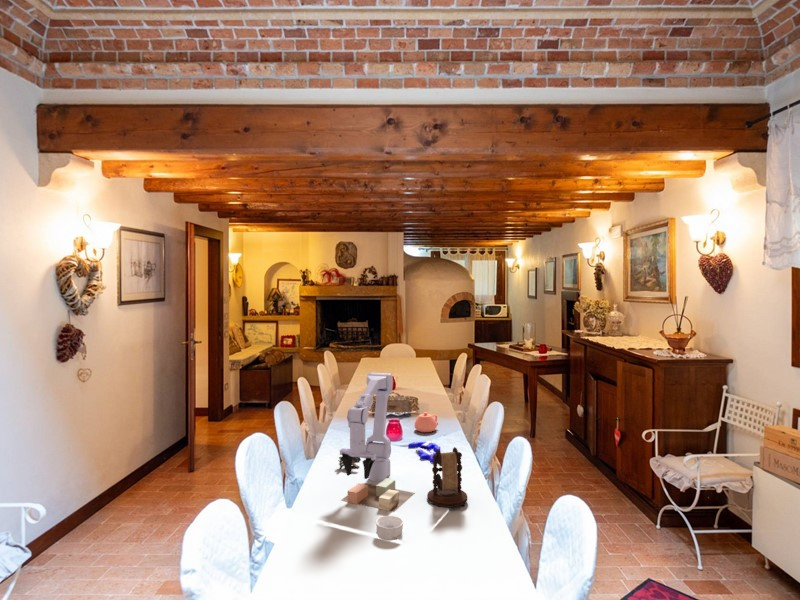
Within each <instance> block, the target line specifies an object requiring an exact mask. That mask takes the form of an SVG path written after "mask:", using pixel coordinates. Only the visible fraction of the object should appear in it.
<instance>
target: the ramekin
mask: <svg viewBox="0 0 800 600" xmlns="http://www.w3.org/2000/svg"><path fill="white" fill-rule="evenodd" d="M375 525H376V535H377V537H378V538H379V539H381V540H385V541H395V540H398V538H397V537H399V536H401V535H402V533H403V527H404V526H403V525H404V520H403V519H402V518H401V517H399V516H396V515H383V516H380V517H378V518H377V519H376V520H375Z"/></svg>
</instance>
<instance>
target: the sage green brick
mask: <svg viewBox="0 0 800 600" xmlns="http://www.w3.org/2000/svg"><path fill="white" fill-rule="evenodd" d="M375 485H376V496H378V497H380V496H381V495H383V494H384V493H385V492H386V491H388V490H389V489H390V490H395V489H396V479H392V478H388V477H387V478H386V479H384V480H383V481H379V483H377V484H375Z"/></svg>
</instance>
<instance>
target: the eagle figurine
mask: <svg viewBox="0 0 800 600" xmlns="http://www.w3.org/2000/svg"><path fill="white" fill-rule="evenodd" d="M341 457H342V456H339V457H338V460H337V461H338V462H339V463H338V465H339V470H342V469H343V467H344V464H343V462H342V461H341ZM361 459H362V458H360V457H353V458H352V466H354V467H356V468H359V467H360V466H359V465H357V464H359V463H360V462H361V461H362V460H361Z"/></svg>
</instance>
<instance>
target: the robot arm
mask: <svg viewBox="0 0 800 600" xmlns="http://www.w3.org/2000/svg"><path fill="white" fill-rule="evenodd" d="M393 385H394V378H393V375H392V374H391V373H390V372H389V373H388V372H387V373H386V372H384V373H383V372H372V371H371V372H368V374H367V376H366V388H365V391H364V393H362V394H360V395H359V396H358V399H357V401H356V402H355V404H354V405H353V407H350V408H348V411H347V416H346V420H347V424H348V428H349V448H340V449H339V455H340V457H341V462H343V464H344V466H343V467H344V469H345V472H346V476H350V475H352V471H353V470H352V466H353V465H352V458H353V457H360V459H363V460H362V465H363V470H364V471H363V476H364V477H363V478H364V480H367V479H369V480H370V481H371V482H372V481H373V482H382V481H383V480H384V479H386V478H388V477H390V476H391V460H390V458H391V453H392V447H391V442H392V441H391V440H390V438H389V437H388V436H387V435H386V434H385V433H386V423H387V422H386V421H387V411H388V399H389V395H390V394H392V393H393ZM374 396H376V397H375V405H374V406H375V408H374V417H373V418H374V419H373V429H372V430H373V431H372V434H371V435H369V437H367V439H366V423H367V422H368V420H369V414H370V409H371V407H372V405H373V403H374V399H373V398H374ZM343 464H342V465H343Z"/></svg>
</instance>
